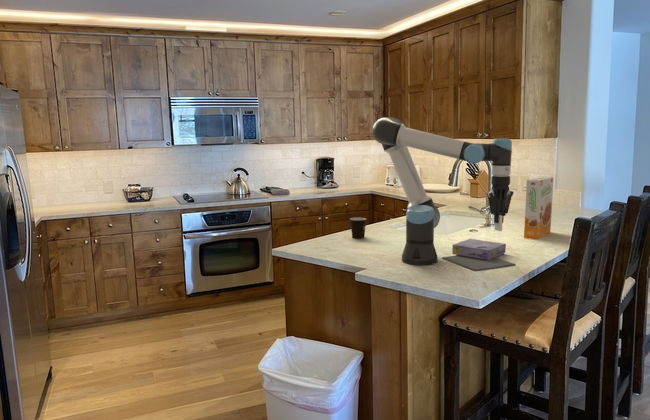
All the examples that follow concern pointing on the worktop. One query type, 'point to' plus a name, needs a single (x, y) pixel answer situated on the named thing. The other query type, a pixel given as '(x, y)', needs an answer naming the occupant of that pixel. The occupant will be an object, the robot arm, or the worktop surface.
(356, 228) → the coffee mug
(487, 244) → the cake pan box
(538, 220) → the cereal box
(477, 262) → the mat
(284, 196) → the worktop surface
